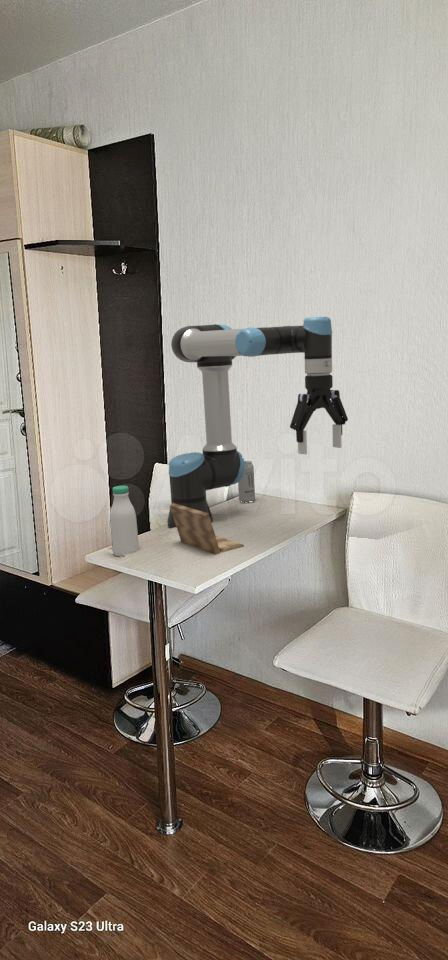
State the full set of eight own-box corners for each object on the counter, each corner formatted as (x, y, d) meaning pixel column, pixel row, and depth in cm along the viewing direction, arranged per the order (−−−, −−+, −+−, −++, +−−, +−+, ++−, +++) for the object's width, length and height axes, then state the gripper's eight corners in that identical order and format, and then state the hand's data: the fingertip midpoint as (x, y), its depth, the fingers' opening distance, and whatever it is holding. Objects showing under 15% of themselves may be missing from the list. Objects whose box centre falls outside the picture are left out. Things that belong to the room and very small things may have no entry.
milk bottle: (144, 552, 206) (139, 485, 202) (123, 558, 201) (117, 491, 197) (128, 547, 211) (123, 483, 207) (107, 554, 206) (101, 487, 202)
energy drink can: (247, 504, 257) (245, 464, 254) (235, 502, 261) (233, 462, 258) (258, 500, 261) (256, 461, 258) (246, 498, 265) (244, 460, 262)
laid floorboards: (186, 543, 213) (186, 537, 212) (208, 537, 217) (207, 531, 217) (221, 555, 198) (221, 549, 198) (244, 549, 203) (243, 543, 202)
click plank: (181, 543, 211) (169, 505, 207) (185, 541, 212) (173, 503, 208) (216, 556, 197) (204, 515, 193) (220, 554, 198) (208, 513, 193)
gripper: (294, 377, 182) (296, 458, 186) (359, 371, 197) (360, 445, 201) (275, 377, 188) (278, 455, 192) (340, 371, 203) (341, 443, 207)
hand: (320, 450), depth 197 cm, fingers open, 13 cm apart
